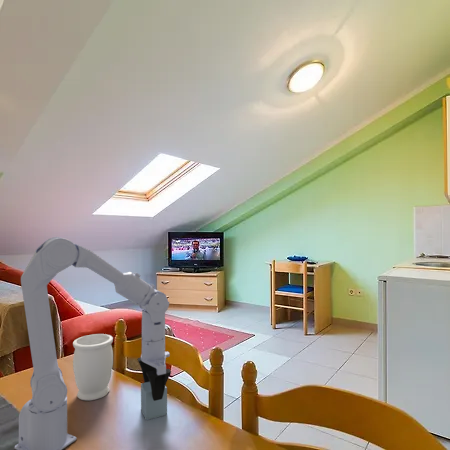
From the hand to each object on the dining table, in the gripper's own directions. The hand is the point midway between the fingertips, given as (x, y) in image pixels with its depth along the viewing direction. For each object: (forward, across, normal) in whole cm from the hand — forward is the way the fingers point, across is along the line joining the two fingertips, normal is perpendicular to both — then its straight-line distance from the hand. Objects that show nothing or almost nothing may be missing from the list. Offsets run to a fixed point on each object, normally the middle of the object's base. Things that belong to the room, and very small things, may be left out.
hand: (153, 392), depth 83 cm
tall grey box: (+5, 0, 0) cm, 5 cm away
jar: (+5, +17, +12) cm, 22 cm away
